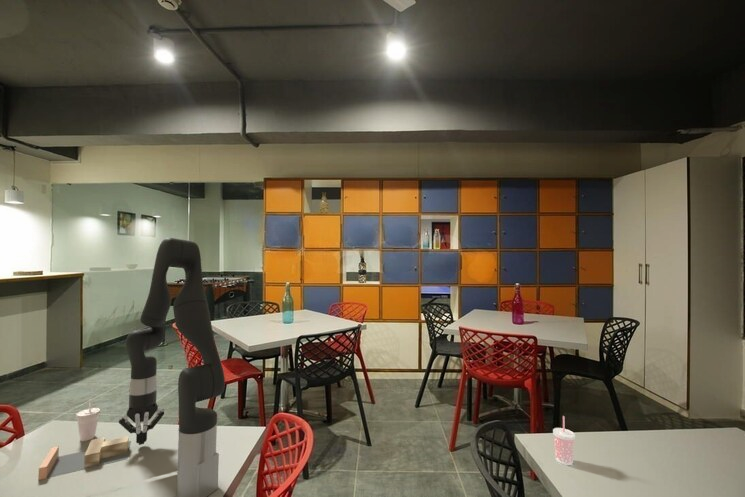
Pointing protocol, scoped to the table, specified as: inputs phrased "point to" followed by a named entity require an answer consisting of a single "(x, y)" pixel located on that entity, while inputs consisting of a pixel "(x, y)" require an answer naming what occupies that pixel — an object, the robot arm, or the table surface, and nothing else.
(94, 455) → the t block
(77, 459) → the mat
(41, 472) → the rail
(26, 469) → the table surface
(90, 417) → the smoothie
